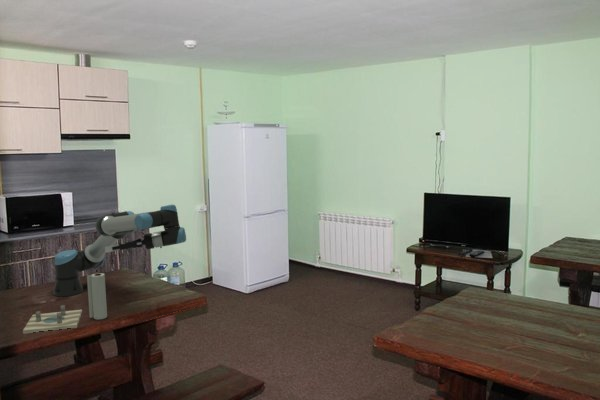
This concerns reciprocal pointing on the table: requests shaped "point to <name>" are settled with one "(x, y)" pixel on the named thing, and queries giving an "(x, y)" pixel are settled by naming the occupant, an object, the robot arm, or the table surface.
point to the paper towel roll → (97, 296)
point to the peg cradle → (53, 320)
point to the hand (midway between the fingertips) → (108, 248)
